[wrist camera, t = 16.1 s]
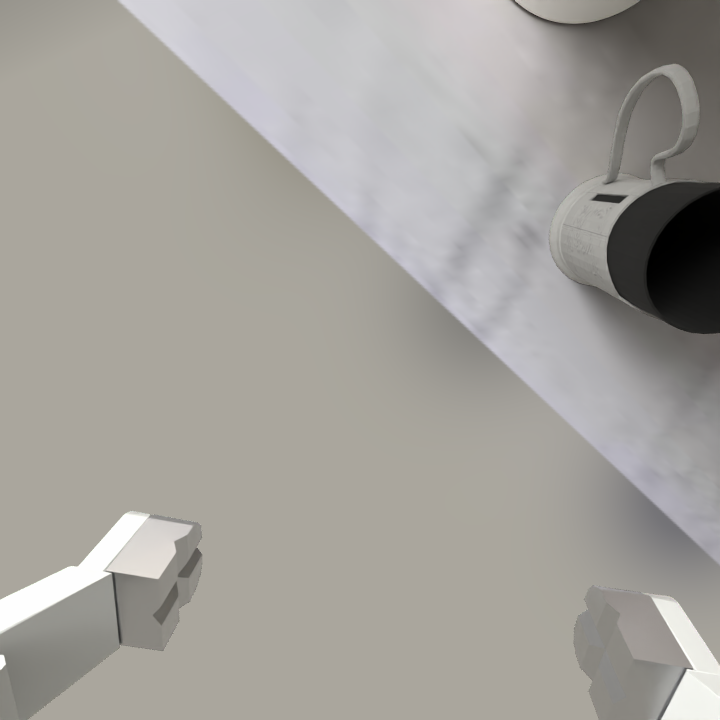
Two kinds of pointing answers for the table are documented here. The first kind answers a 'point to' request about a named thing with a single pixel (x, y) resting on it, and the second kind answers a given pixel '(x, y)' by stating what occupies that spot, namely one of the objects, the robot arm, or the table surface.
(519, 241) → the table surface
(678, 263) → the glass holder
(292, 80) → the table surface
